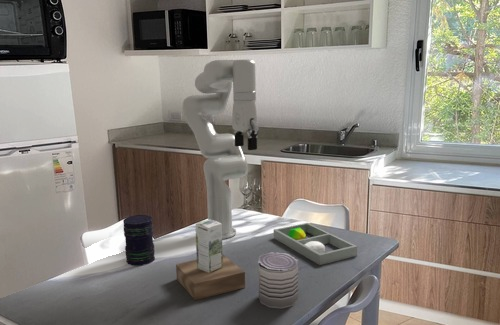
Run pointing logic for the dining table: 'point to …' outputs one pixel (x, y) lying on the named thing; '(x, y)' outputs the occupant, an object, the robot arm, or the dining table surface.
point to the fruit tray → (321, 236)
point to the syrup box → (209, 245)
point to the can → (278, 280)
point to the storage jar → (139, 240)
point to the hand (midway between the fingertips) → (245, 147)
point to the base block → (210, 279)
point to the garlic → (316, 246)
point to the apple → (297, 234)
